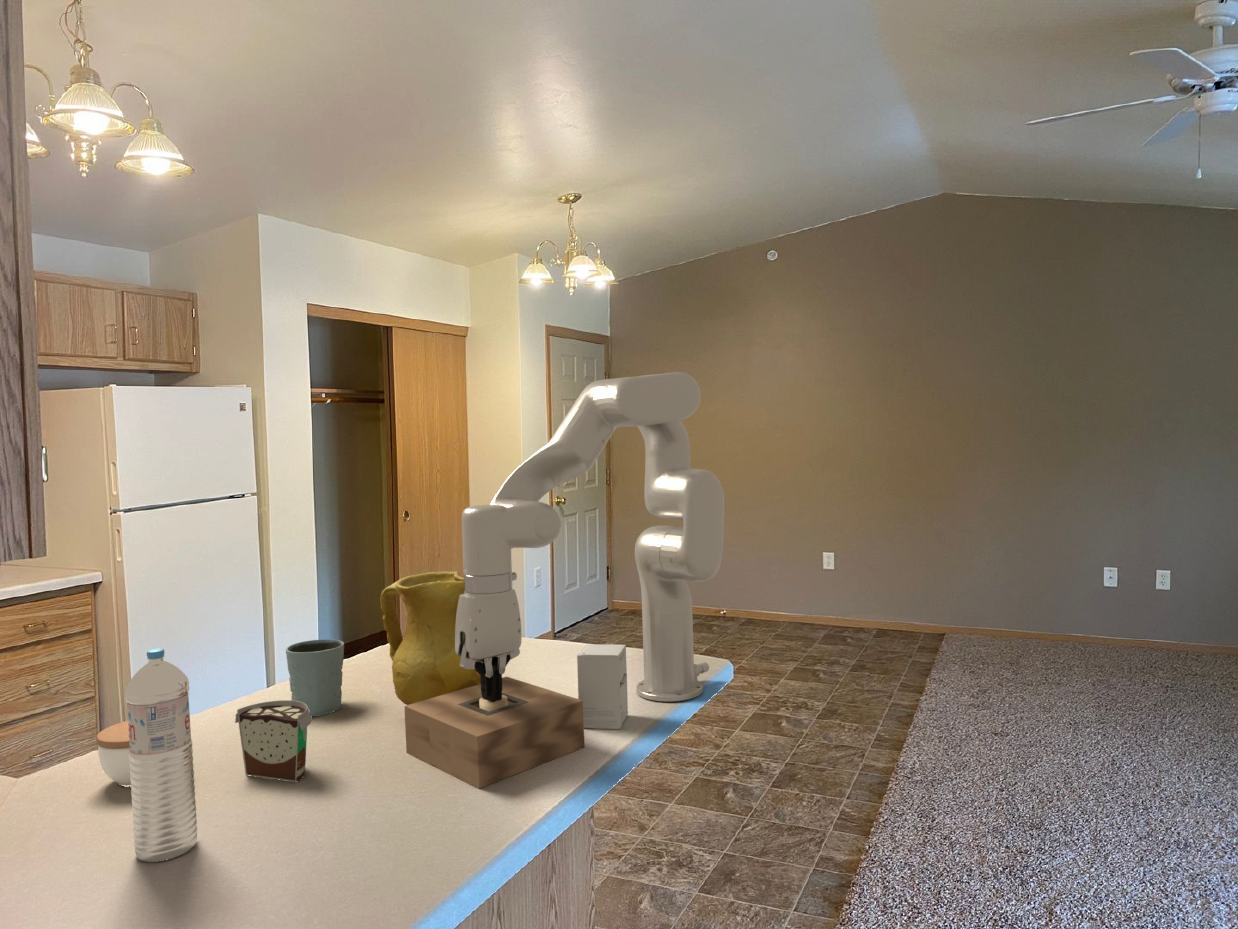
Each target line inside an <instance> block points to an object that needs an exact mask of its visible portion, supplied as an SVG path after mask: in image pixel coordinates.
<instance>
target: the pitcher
mask: <svg viewBox="0 0 1238 929" xmlns="http://www.w3.org/2000/svg"><path fill="white" fill-rule="evenodd" d="M380 593H381V594H380V598H379V603H380V609H381V610H380V611H381V612H382V613H383V615H382V621H383V629H384V631H385V632H386V638H387V639H386V641H387V643H388V645H389V657H390V659H391V661H392V664H391V669H392V670H391V671H392V672H391V673H392V682H393V686H394V691H395V692H394V693H395V696H396V697H397V698H398V700H399V701H401V702H402V703H403V704H404V705H405V706H406V705H410V704H413V703H417V702H420V701H424V700H427V699H430V698H434V697H437V696H441V695H444V694H448V693H451V692H455V691H458V690H462V689H465V688H469V687H472V686H475V685H479V684H481V678H480V675H479V674H477V672H476V671H475V670H474V669H465V668H462V667H460V660H461V656H458V655H457V654H456V652H455V624H456V613H457V606H458V600H459V596H460V595H461V594H464V577H462V576H460V572H459V571H430V572H425V573H418V574H413V575H408V576H405V577H402V578H399V580H397V581H395V582H393V583H392V584H391V585H389V586H386V587H385V588H384V589H382V591H381V592H380ZM396 596H398V597H400V598H401V600H402V601H403V603H404V606H405V609H406V613H407V614H406V615H407V616H406V628H405V632H404V636H403V634H402V630H401V627H400V623H399V618H398V614H397V609H396Z"/></svg>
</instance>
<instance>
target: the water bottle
mask: <svg viewBox="0 0 1238 929" xmlns="http://www.w3.org/2000/svg"><path fill="white" fill-rule="evenodd" d="M146 657H147V658H146V660H148V663H146V664H144V666H142V667H141V668H139V670H138V671H136V673H135V674H133V676H132V678H130V681H129V682H128V684H127V685H126V688H125V690H124V691H125V692H124V694H125V702H126V703H127V704H126V705H127V721H128V726H129V744H130V752H129V759H130V762H129V764H130V774H131V776H130V780H131V787H130V789H131V790H130V791H131V792H130V793H131V794H130V795H131V809H132V825H133V826H132V828H133V830H132V831H133V840H134V841H133V843H134V846H133V847H134V852H135V855H136V857H137V859H139V860H140V861H142V862H145V861H146V862H145V863H157V862H156V861H160V862H163V861H162V860H166V859H170V860H172V858H173V859H175V858H174V857H176V858H178V857H180V855H181V856H182V854H183V855H184V854H186V853H187V852H189V851H190V850H191V848H192V847H193V848H194V846H196V844H197V840H198V826H197V825H198V821H197V804H196V802H197V801H196V791H195V790H196V786H195V769H194V768H195V765H194V755H193V754H194V750H193V740H192V736H191V735H192V734H191V731H192V730H191V729H192V728H191V716H190V700H189V691H190V680H189V678H188V676H187V675H186V674H185V672H183V670H181V669H180V668H179V667H177V666H176V665H175V664H173V663H171V662H169V661H165V660H164V658H165V649H164V648H158V647H157V648H153V649H149V650H147V651H146ZM193 848H192V849H193ZM185 852H186V853H185ZM177 856H178V857H177ZM166 861H167V860H166Z"/></svg>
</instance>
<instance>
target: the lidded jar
mask: <svg viewBox="0 0 1238 929" xmlns="http://www.w3.org/2000/svg"><path fill="white" fill-rule="evenodd" d="M96 744H97V750H98V758H99V762H100V765H101V768H102V771H103V772H104V774H105V775H106V776H107V777H108V778H109V779H111V780H112V781H113V782H114V783H117V785H118V784H119V785H126V786H127V785H131V780H130V776H131V774H130V764H129V762H130V759H129V752H130V744H129V726H128V720H126V721H125V720H124V721H122V722H119V723H116V724H113V725H110V726H108V727H106V728H104V729H102V730H101V731H99V733H98V734H97V735H96ZM119 785H118V786H119Z"/></svg>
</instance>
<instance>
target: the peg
mask: <svg viewBox="0 0 1238 929" xmlns="http://www.w3.org/2000/svg"><path fill="white" fill-rule="evenodd" d="M479 706H480V708H481V709H484V710H486V711H493V710H496V709H499V708H502V707H505V706H508V702H507V696H505V695H502V699H501V700H499V701H498V700H496V701H495V702H491V701H488V700H485V699H483V698H480V699H479Z"/></svg>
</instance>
